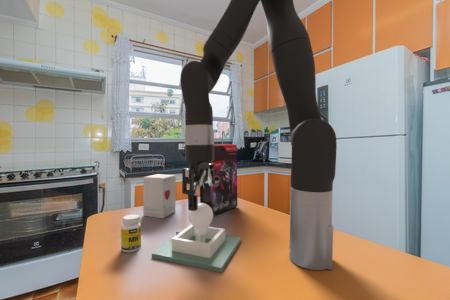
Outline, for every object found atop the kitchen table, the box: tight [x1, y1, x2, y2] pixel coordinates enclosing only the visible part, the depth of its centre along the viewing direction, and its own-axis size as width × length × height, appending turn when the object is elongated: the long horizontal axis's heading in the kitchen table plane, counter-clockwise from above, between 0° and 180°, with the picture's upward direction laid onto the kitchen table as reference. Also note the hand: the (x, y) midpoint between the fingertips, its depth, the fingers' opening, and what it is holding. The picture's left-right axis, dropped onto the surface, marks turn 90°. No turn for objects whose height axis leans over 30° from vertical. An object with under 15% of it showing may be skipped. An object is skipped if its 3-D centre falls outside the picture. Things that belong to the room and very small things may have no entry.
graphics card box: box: [199, 143, 238, 217], centre depth 90 cm, size 17×7×27 cm, turn 141°
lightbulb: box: [188, 202, 214, 242], centre depth 58 cm, size 6×6×11 cm
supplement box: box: [142, 173, 176, 219], centre depth 85 cm, size 9×9×15 cm
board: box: [151, 223, 242, 273], centre depth 58 cm, size 18×16×4 cm
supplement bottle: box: [120, 214, 142, 253], centre depth 58 cm, size 5×5×8 cm
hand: (200, 205), depth 57 cm, fingers open, 8 cm apart
